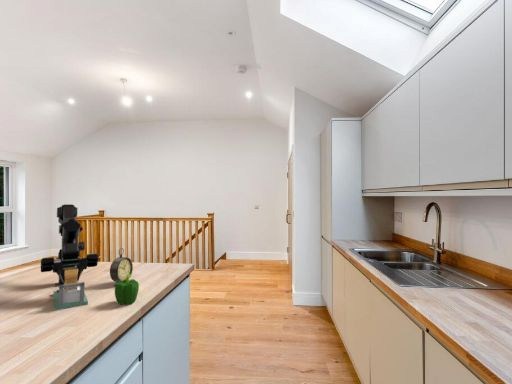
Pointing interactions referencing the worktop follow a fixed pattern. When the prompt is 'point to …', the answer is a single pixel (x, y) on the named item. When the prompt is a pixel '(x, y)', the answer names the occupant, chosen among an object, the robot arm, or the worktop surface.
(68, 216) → the robot arm
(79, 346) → the worktop surface
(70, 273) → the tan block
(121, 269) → the alarm clock
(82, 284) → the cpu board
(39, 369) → the worktop surface
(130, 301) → the bell pepper
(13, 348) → the worktop surface
